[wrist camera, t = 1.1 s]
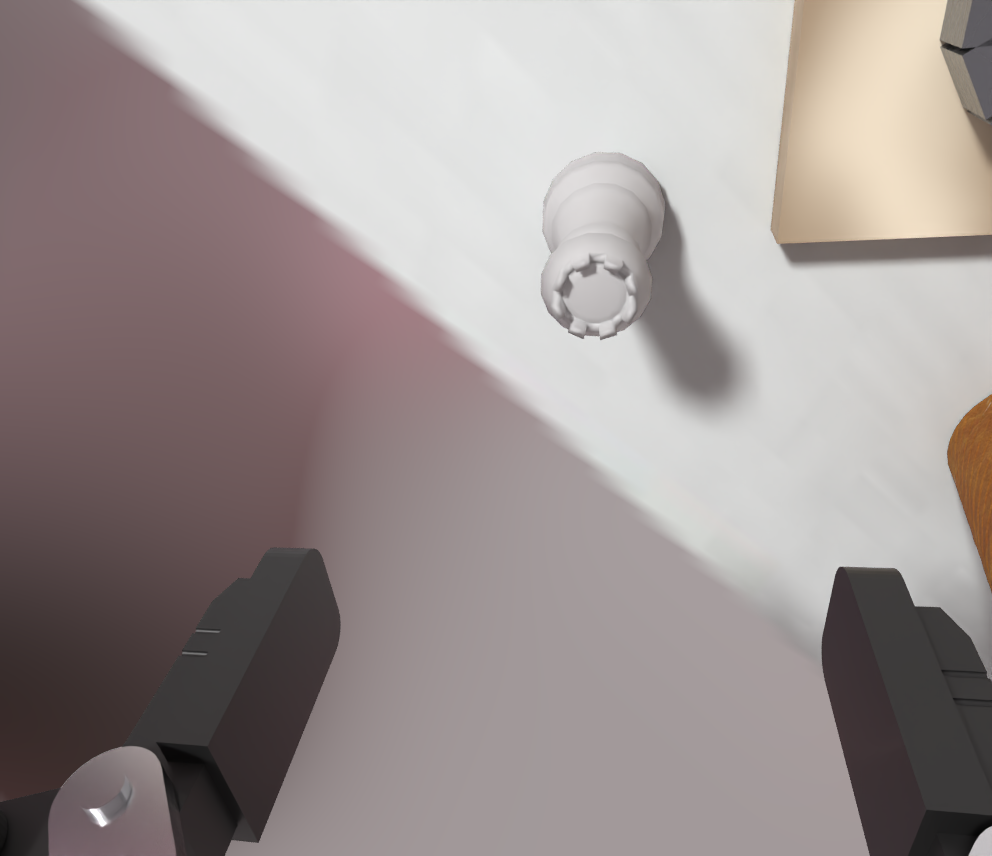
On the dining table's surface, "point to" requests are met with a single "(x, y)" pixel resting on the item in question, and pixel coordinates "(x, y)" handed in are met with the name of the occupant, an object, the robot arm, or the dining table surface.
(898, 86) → the birch base plate
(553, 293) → the rook chess piece
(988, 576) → the disposable coffee cup
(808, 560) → the dining table surface
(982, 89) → the steel socket collar
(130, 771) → the robot arm
